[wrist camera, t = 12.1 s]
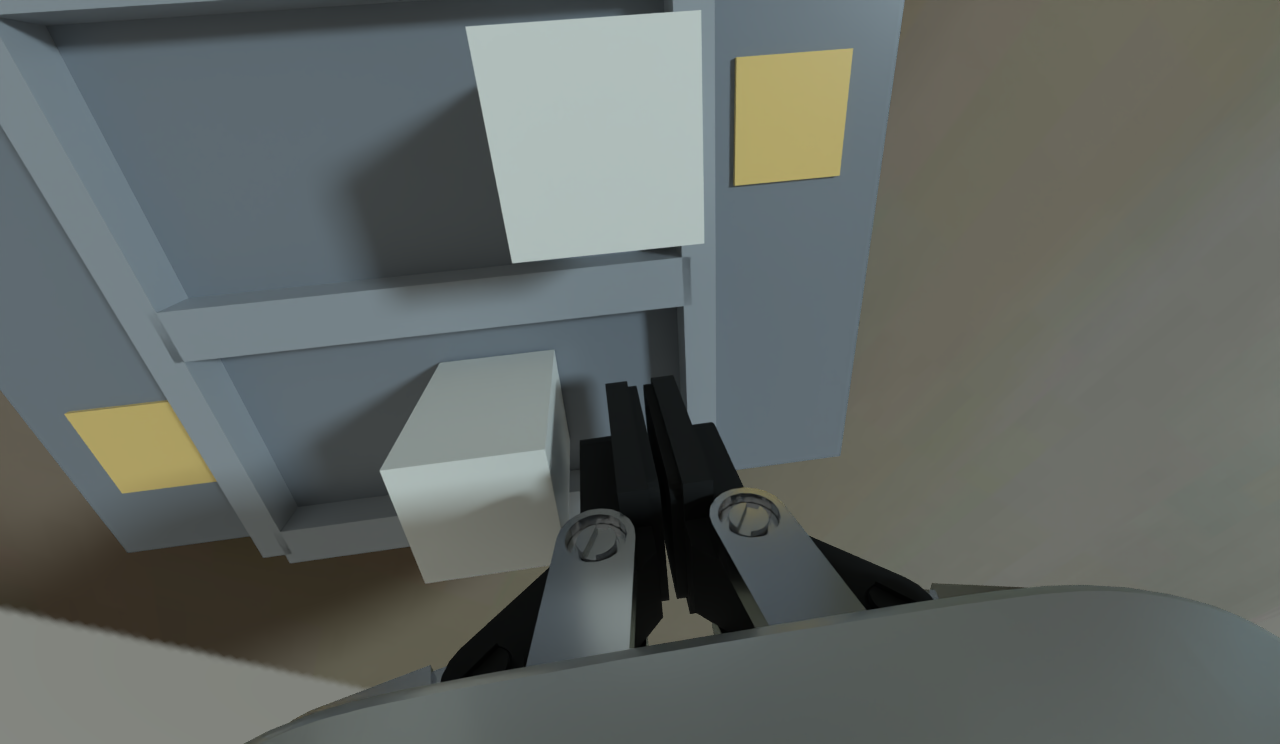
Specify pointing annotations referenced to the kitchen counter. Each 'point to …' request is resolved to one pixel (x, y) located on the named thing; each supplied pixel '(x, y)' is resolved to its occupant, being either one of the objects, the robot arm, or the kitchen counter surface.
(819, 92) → the switch board
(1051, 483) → the kitchen counter surface
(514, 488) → the tab
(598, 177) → the tab
